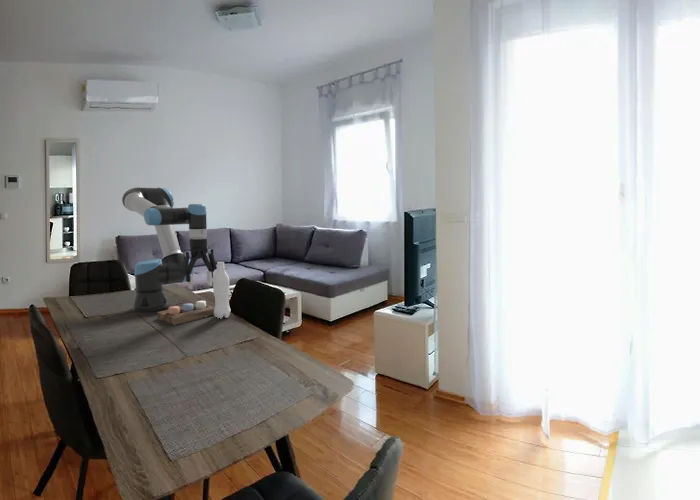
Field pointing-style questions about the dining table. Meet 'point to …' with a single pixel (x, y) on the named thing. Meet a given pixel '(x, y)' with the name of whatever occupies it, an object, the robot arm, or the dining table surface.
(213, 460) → the dining table surface
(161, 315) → the brown wooden tray
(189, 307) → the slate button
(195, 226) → the robot arm
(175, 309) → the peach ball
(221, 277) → the water bottle
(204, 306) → the cream rounded lump
